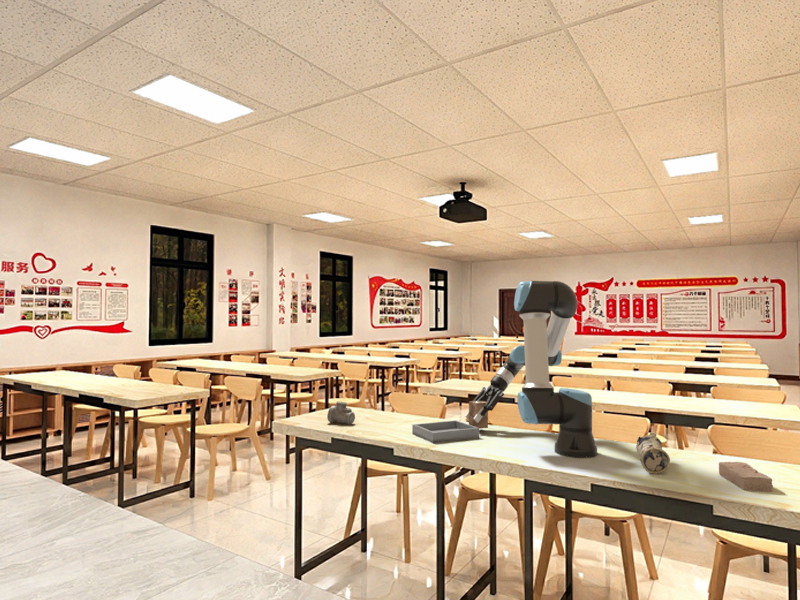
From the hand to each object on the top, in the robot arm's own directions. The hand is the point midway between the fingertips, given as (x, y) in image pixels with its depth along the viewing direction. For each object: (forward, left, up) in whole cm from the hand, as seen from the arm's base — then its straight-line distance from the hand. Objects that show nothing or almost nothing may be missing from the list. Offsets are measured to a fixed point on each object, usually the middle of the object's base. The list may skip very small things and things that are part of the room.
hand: (471, 419), depth 232 cm
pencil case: (-71, -26, -6) cm, 76 cm away
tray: (-2, +14, -5) cm, 15 cm away
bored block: (0, -4, -4) cm, 5 cm away
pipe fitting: (+40, +45, -6) cm, 61 cm away
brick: (-95, -37, -6) cm, 102 cm away
